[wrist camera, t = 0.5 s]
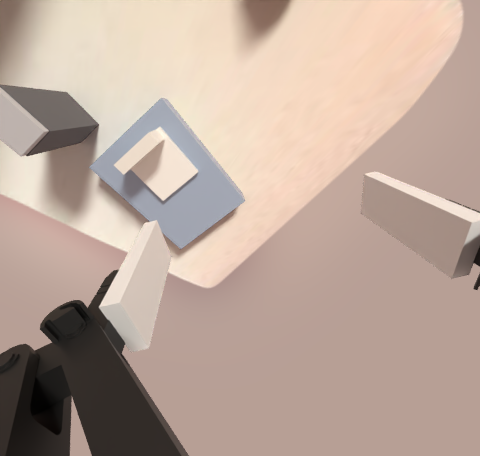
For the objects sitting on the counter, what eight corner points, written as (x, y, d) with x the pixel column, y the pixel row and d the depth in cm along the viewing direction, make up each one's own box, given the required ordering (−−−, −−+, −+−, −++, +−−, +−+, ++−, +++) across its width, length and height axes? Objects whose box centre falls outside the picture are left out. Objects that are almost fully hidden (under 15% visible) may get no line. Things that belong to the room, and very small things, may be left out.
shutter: (124, 159, 32) (110, 167, 27) (160, 126, 30) (152, 129, 26) (164, 199, 35) (157, 211, 31) (198, 170, 33) (196, 179, 29)
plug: (48, 112, 32) (-34, 114, 21) (67, 92, 31) (-9, 83, 20) (81, 142, 34) (21, 157, 23) (98, 124, 33) (45, 131, 22)
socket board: (101, 161, 35) (88, 167, 32) (166, 99, 32) (161, 97, 29) (183, 237, 43) (180, 249, 39) (242, 192, 40) (245, 200, 37)
